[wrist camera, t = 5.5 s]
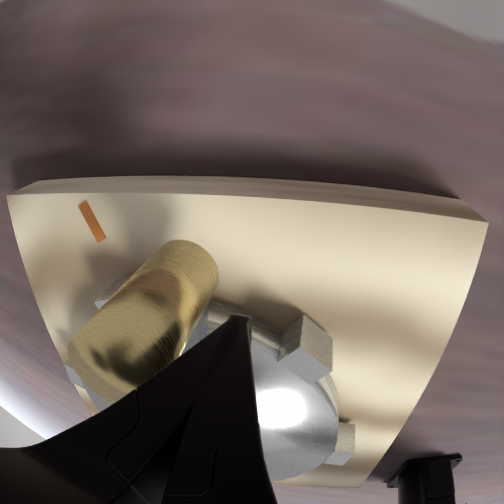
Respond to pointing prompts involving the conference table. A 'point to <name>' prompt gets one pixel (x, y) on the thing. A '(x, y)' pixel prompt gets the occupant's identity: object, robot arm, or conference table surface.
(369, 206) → the base plate
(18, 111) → the conference table surface
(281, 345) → the silver lever dial
